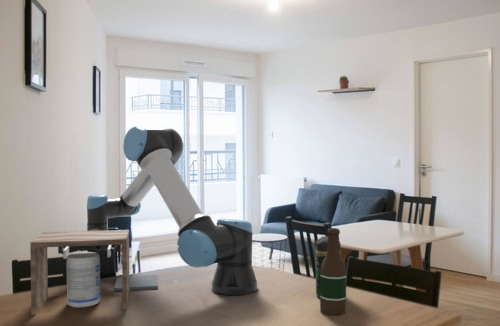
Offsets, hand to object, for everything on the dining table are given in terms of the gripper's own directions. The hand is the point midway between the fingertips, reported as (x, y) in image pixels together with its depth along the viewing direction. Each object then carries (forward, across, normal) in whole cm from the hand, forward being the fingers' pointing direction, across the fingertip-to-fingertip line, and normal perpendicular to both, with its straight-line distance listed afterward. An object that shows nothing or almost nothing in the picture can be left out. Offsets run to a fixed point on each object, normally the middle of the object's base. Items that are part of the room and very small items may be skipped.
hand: (86, 254), depth 158 cm
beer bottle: (+33, -72, -12) cm, 80 cm away
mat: (-6, -16, -12) cm, 21 cm away
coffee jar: (+18, -76, -12) cm, 79 cm away
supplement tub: (+11, -1, -13) cm, 17 cm away
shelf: (+11, -1, -12) cm, 17 cm away
